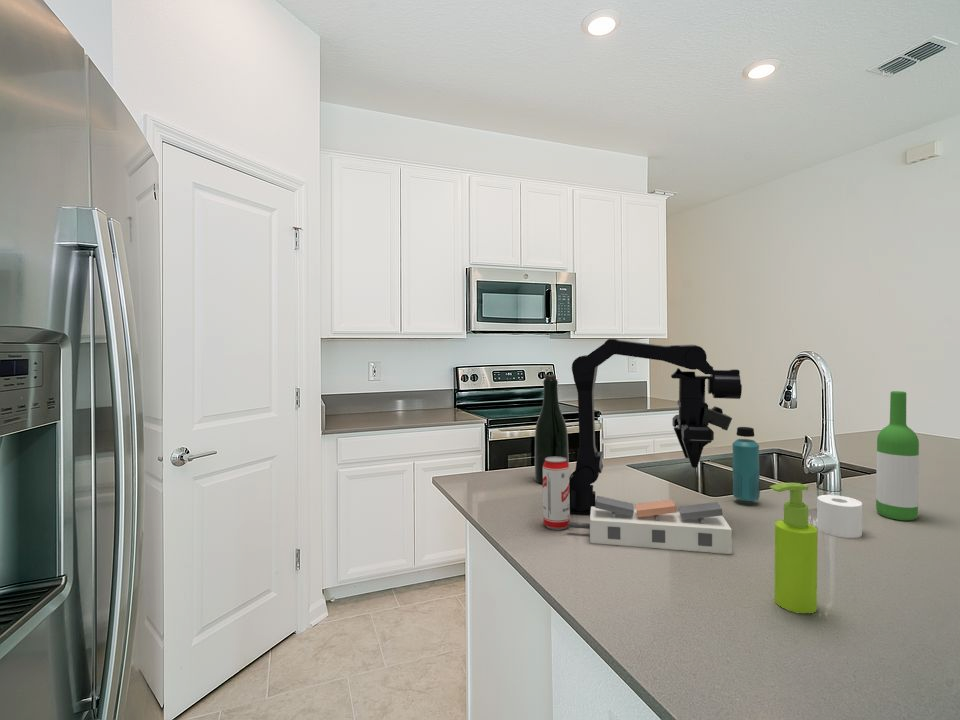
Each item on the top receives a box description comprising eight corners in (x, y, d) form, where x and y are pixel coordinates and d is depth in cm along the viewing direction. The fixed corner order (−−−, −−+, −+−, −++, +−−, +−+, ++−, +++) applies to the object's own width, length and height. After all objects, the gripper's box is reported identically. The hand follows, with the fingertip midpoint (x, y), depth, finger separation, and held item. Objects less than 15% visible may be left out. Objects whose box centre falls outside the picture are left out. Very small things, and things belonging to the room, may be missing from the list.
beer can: (572, 522, 121) (571, 456, 120) (567, 532, 115) (566, 463, 114) (546, 520, 123) (545, 455, 122) (540, 529, 117) (539, 461, 116)
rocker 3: (682, 520, 106) (681, 513, 106) (679, 512, 110) (678, 506, 110) (723, 515, 104) (721, 508, 104) (718, 508, 108) (717, 501, 108)
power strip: (566, 541, 110) (566, 514, 109) (569, 526, 118) (569, 501, 118) (731, 554, 102) (731, 525, 101) (721, 536, 110) (721, 510, 110)
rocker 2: (637, 517, 108) (636, 510, 108) (636, 510, 112) (635, 504, 112) (676, 512, 106) (675, 506, 106) (673, 505, 110) (672, 499, 110)
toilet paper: (835, 519, 120) (835, 490, 119) (871, 537, 108) (871, 506, 108) (800, 519, 120) (800, 491, 119) (833, 538, 109) (833, 507, 108)
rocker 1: (595, 507, 110) (596, 501, 110) (595, 501, 114) (596, 495, 114) (632, 516, 108) (634, 510, 108) (631, 509, 113) (632, 503, 112)
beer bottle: (545, 474, 163) (543, 373, 162) (574, 479, 157) (573, 374, 156) (528, 482, 155) (527, 375, 153) (559, 488, 148) (557, 376, 147)
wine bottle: (911, 512, 123) (913, 390, 121) (923, 523, 116) (925, 394, 114) (871, 508, 126) (873, 389, 125) (881, 519, 119) (883, 393, 118)
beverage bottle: (763, 507, 129) (764, 429, 128) (735, 506, 130) (735, 429, 129) (755, 499, 135) (755, 425, 134) (728, 498, 136) (728, 425, 135)
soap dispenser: (760, 596, 85) (761, 480, 84) (799, 594, 86) (800, 478, 85) (784, 615, 79) (785, 490, 78) (825, 613, 80) (827, 488, 79)
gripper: (739, 403, 108) (738, 475, 109) (719, 393, 126) (718, 455, 127) (684, 402, 111) (683, 472, 112) (672, 392, 129) (671, 453, 130)
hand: (691, 462), depth 120 cm, fingers open, 9 cm apart
